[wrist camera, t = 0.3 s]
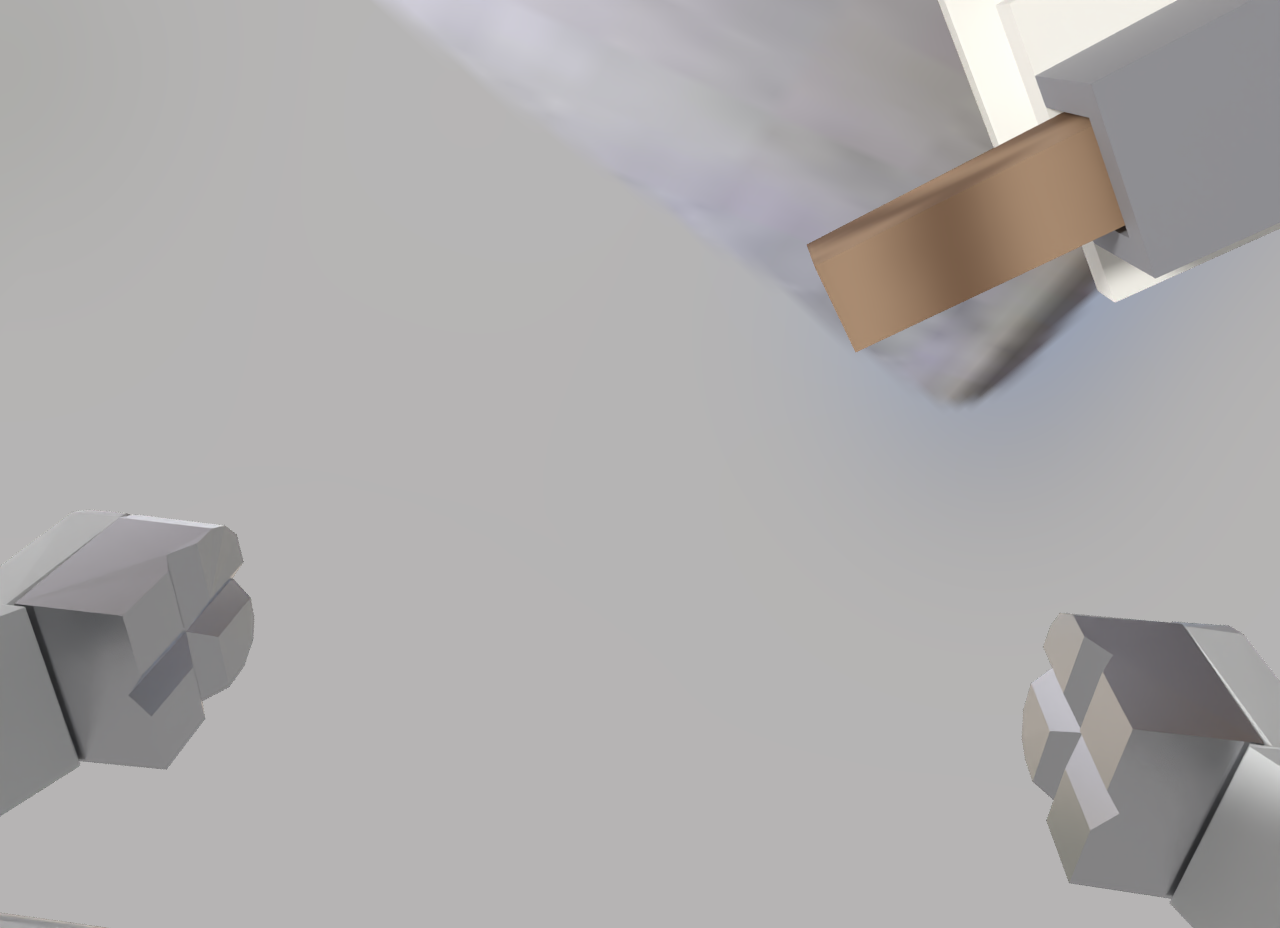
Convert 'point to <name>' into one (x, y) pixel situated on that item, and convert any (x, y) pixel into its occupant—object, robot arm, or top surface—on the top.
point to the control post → (1143, 114)
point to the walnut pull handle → (968, 230)
